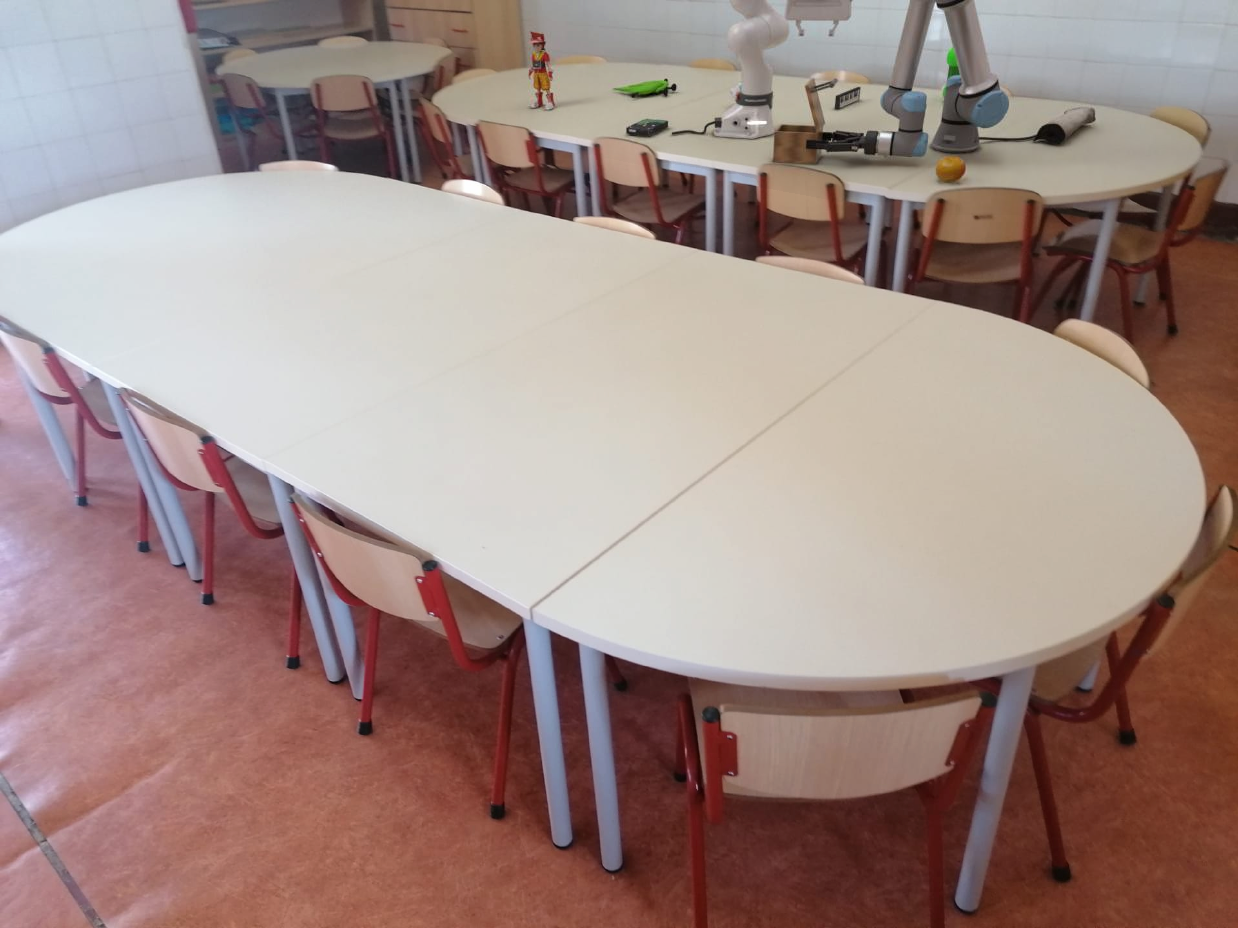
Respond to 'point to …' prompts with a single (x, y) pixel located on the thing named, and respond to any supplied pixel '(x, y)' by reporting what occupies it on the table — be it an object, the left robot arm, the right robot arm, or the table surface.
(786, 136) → the chest
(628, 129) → the disk drive
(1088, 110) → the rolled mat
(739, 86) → the anatomical model
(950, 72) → the plastic bottle
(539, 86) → the toy
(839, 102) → the midi keyboard
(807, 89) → the lid
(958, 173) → the fruit
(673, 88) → the toy
